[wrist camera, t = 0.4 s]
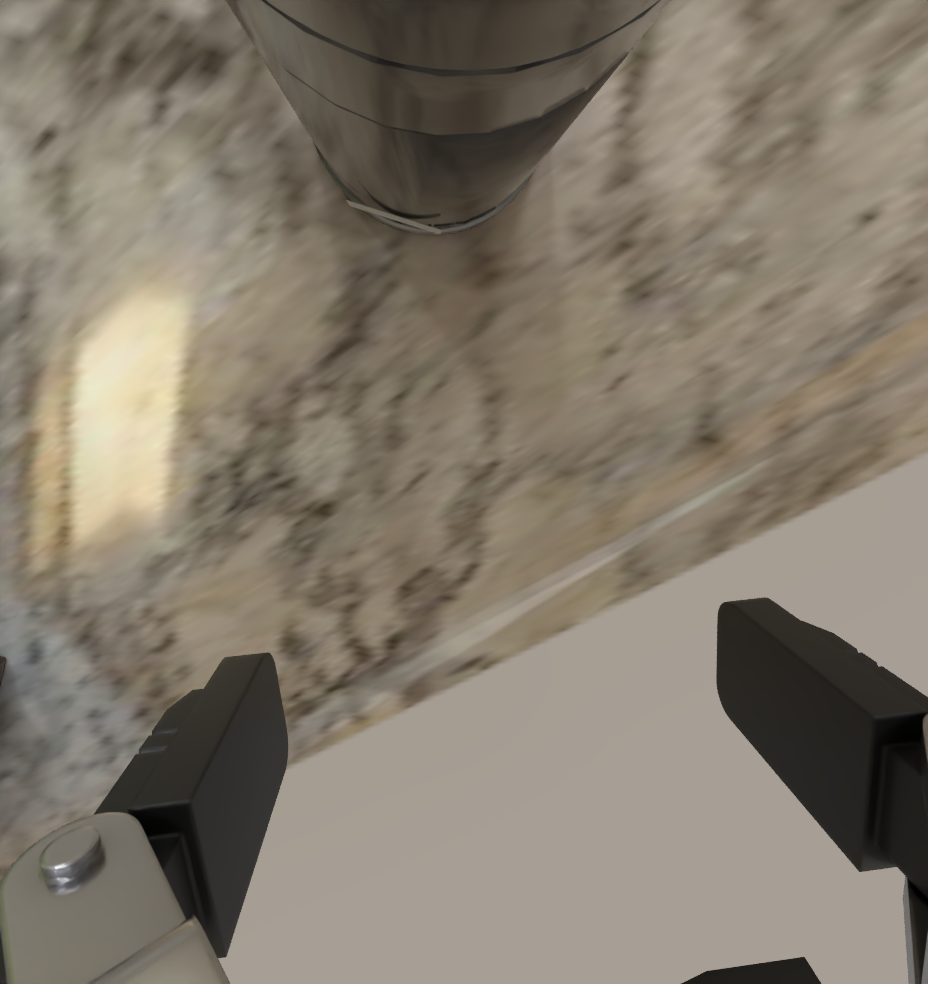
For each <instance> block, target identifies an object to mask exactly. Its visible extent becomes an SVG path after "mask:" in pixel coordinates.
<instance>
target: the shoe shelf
mask: <svg viewBox="0 0 928 984" xmlns="http://www.w3.org/2000/svg"><path fill="white" fill-rule="evenodd" d="M5 662H6V658H5V657H1V656H0V684H1V679H2V675H3V671H4V666H5Z"/></svg>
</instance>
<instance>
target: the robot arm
mask: <svg viewBox="0 0 928 984" xmlns="http://www.w3.org/2000/svg"><path fill="white" fill-rule="evenodd" d="M226 1H227V3H228V5H229V6H230V8H231V9H232V11H233V13H234V14H235V16H236V17H237V19H238V21H239V22H240V24H241V26H242V27H243V29H244V30H245V32H246V34H247V35H248V37H249V38H250V40H251V42H252V43H253V45H254V46H255V48H256V50H257V51H258V53H259V55H260V56H261V58H262V59H263V61H264V63H265V64H266V66H267V67H268V69H269V71H270V72H271V74H272V76H273V77H274V79H275V80H276V82H277V84H278V85H279V87H280V88H281V90H282V92H283V93H284V95H285V96H286V98H287V100H288V101H289V103H290V105H291V106H292V108H293V109H294V111H295V113H296V114H297V116H298V117H299V119H300V121H301V122H302V124H303V126H304V127H305V129H306V130H307V132H308V134H309V135H310V137H311V138H312V140H313V142H314V144H315V146H316V148H317V151H318V153H319V155H320V157H321V159H322V161H323V163H324V164H325V166H326V168H327V170H328V171H329V173H330V174H331V176H332V177H333V179H334V180H335V182H336V183H337V184H338V186H339V187H340V188H341V189H342V191H343V192H344V193H345V194H346V195H347V196H348V197H349V198H350V199H351V200H352V201H353V202H351V201H348V200H346V201H347V203H348V204H349V206H352V207H355V208H358V209H361V210H363V211H365V212H366V213H367V214H369V215H370V216H372V217H373V218H375V219H377V220H379V221H380V222H382V223H384V224H386V225H389V226H391V227H393V228H396V229H399V230H402V231H405V232H410V233H415V234H423V235H442V234H451V233H455V232H460V231H463V230H466V229H469V228H472V227H474V226H476V225H478V224H481V223H483V222H484V221H486V220H488V219H489V218H491V217H493V216H494V215H495V214H497V213H498V212H499V211H501V210H502V209H503V208H504V207H505V206H506V205H507V204H508V203H510V202H511V200H512V199H513V198H514V197H515V196H516V195H517V194H518V193H519V191H520V190H521V189H522V188H523V186H524V185H525V184H526V182H527V181H528V180H529V178H530V176H531V175H532V173H533V171H534V170H535V168H536V167H537V166H538V164H539V163H540V162H541V161H542V160H543V158H544V157H545V156H546V155H547V153H548V152H549V151H550V150H551V148H552V147H553V146H554V145H555V144H556V142H557V141H558V140H559V139H560V137H561V136H562V135H563V134H564V133H565V131H566V130H567V129H568V128H569V126H570V125H571V124H572V123H573V121H574V120H575V119H576V118H577V117H578V115H579V114H580V113H581V112H582V110H583V109H584V108H585V107H586V105H587V104H588V103H589V102H590V101H591V99H592V98H593V97H594V96H595V94H596V93H597V92H598V91H599V89H600V88H601V87H602V86H603V85H604V83H605V82H606V81H607V80H608V78H609V77H610V76H611V75H612V73H613V72H614V71H615V70H616V69H617V67H618V66H619V65H620V64H621V62H622V61H623V60H624V59H625V57H626V56H627V55H628V54H629V52H630V51H631V50H632V48H633V47H634V46H635V44H636V43H637V42H638V40H639V39H640V38H641V37H642V36H643V34H644V33H645V32H646V31H647V29H648V28H649V27H650V26H651V24H652V23H653V22H654V21H655V19H656V18H657V17H658V16H659V15H660V13H661V12H662V11H663V10H664V8H665V7H666V6H667V5H668V3H669V2H670V1H671V0H226ZM717 629H718V630H717V689H718V694H719V698H720V701H721V704H722V706H723V708H724V710H725V712H726V714H727V715H728V717H729V718H730V719H731V721H732V722H733V723H734V724H735V725H736V727H737V728H738V729H739V730H740V731H741V732H742V734H743V735H744V736H745V737H746V738H747V739H748V741H749V742H750V743H751V744H752V745H753V747H754V748H755V749H756V750H757V751H758V753H759V754H760V755H761V756H762V757H763V758H764V759H765V761H766V762H767V763H768V764H769V766H770V767H771V768H772V769H773V770H774V771H775V773H776V774H777V775H778V776H779V777H780V779H781V780H782V781H783V782H784V783H785V784H786V786H788V788H789V789H790V790H791V792H792V793H793V794H794V795H795V796H796V797H797V799H798V800H799V801H800V802H801V803H802V805H803V806H804V807H805V808H806V809H807V810H808V812H809V813H810V814H811V815H812V816H813V817H814V819H815V820H816V821H817V822H818V823H819V825H820V826H821V827H822V828H823V829H824V830H825V832H826V833H827V834H828V835H829V836H830V838H831V839H832V840H833V841H834V842H835V844H836V845H837V846H838V847H839V848H840V849H841V851H842V852H843V853H844V854H845V855H846V856H847V858H848V859H849V860H850V861H851V862H852V864H853V865H854V866H855V867H856V868H857V869H858V871H859V872H862V871H870V870H877V869H884V868H891V867H898V868H899V869H900V870H901V871H902V872H903V873H904V875H905V885H904V894H903V904H904V919H905V935H906V949H907V964H908V979H909V984H928V697H927V696H925V695H923V694H922V693H921V692H919V691H918V690H916V689H915V688H913V687H912V686H910V685H909V684H907V683H906V682H904V681H903V680H902V679H900V678H898V677H897V676H896V675H894V674H893V673H891V672H890V671H888V670H887V669H885V668H884V667H882V666H881V667H878V665H877V663H876V662H875V661H874V660H872V659H871V658H869V657H868V656H866V655H865V654H863V653H858V652H857V649H856V648H854V647H853V646H852V645H850V644H849V643H847V642H845V641H844V640H843V639H841V638H840V637H838V636H837V635H835V634H834V633H832V632H829V631H827V630H824V629H821V628H819V627H816V626H814V625H811V624H809V623H806V622H804V621H800V620H799V619H798V618H796V617H795V616H793V615H792V614H790V613H789V612H788V611H786V610H785V609H783V608H782V607H781V606H779V605H778V604H776V603H775V602H773V601H772V600H770V599H769V598H757V599H748V600H739V601H730V602H724V603H723V604H721V606H720V608H719V611H718V624H717ZM287 758H288V735H287V728H286V722H285V717H284V711H283V705H282V700H281V694H280V688H279V683H278V677H277V672H276V666H275V662H274V659H273V657H272V655H271V654H270V653H260V654H251V655H242V656H233V657H226V658H224V659H223V660H222V661H221V663H220V664H219V666H218V667H217V669H216V670H215V672H214V674H213V675H212V677H211V678H210V680H209V681H208V683H207V685H206V686H205V688H204V689H198V690H192V691H191V692H189V693H188V694H187V695H186V696H184V697H183V698H182V699H180V700H179V701H178V702H177V703H175V704H174V705H173V706H171V707H170V708H169V709H168V710H167V711H166V712H165V714H164V715H163V716H162V718H161V719H160V721H159V722H158V724H157V725H156V726H155V728H154V729H153V731H152V735H151V736H148V738H147V739H146V741H145V742H144V744H143V745H142V746H141V748H140V749H139V754H136V755H135V756H134V758H133V759H132V761H131V762H130V764H129V765H128V766H127V768H126V769H125V771H124V772H123V774H122V775H121V776H120V778H119V779H118V781H117V782H116V783H115V785H114V786H113V788H112V789H111V791H110V792H109V793H108V795H107V796H106V798H105V799H104V801H103V802H102V803H101V805H100V806H99V808H98V809H97V811H96V812H95V813H94V815H91V816H87V817H84V818H81V819H79V820H76V821H73V822H71V823H69V824H67V825H64V826H62V827H61V828H59V829H57V830H55V831H53V832H51V833H50V834H48V835H47V836H45V837H43V838H42V839H40V840H39V841H38V842H36V843H35V844H34V845H32V846H31V847H30V848H29V849H27V850H26V851H25V852H24V853H23V854H22V855H21V856H20V857H19V858H18V859H17V860H16V861H15V862H14V863H13V864H12V865H11V867H10V868H9V869H8V871H7V872H6V873H5V875H4V877H3V878H2V880H1V882H0V984H230V982H229V980H228V978H227V976H226V974H225V972H224V970H223V968H222V966H221V964H220V962H219V960H218V958H223V957H226V956H227V953H228V950H229V947H230V943H231V940H232V937H233V934H234V930H235V927H236V924H237V921H238V918H239V915H240V912H241V909H242V906H243V902H244V899H245V896H246V893H247V890H248V886H249V884H250V880H251V877H252V874H253V871H254V868H255V865H256V862H257V858H258V855H259V852H260V849H261V846H262V842H263V839H264V836H265V833H266V830H267V827H268V823H269V821H270V817H271V814H272V811H273V807H274V805H275V801H276V798H277V795H278V792H279V789H280V786H281V783H282V780H283V776H284V773H285V770H286V765H287ZM682 984H821V982H820V981H819V979H818V978H817V976H816V975H815V973H814V971H813V970H812V968H811V967H810V965H809V964H808V962H807V960H806V959H805V957H800V958H794V959H787V960H781V961H773V962H766V963H759V964H753V965H746V966H739V967H732V968H726V969H719V970H711V971H706V972H704V973H702V974H700V975H698V976H696V977H694V978H692V979H690V980H688V981H686V982H684V983H682Z"/></svg>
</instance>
